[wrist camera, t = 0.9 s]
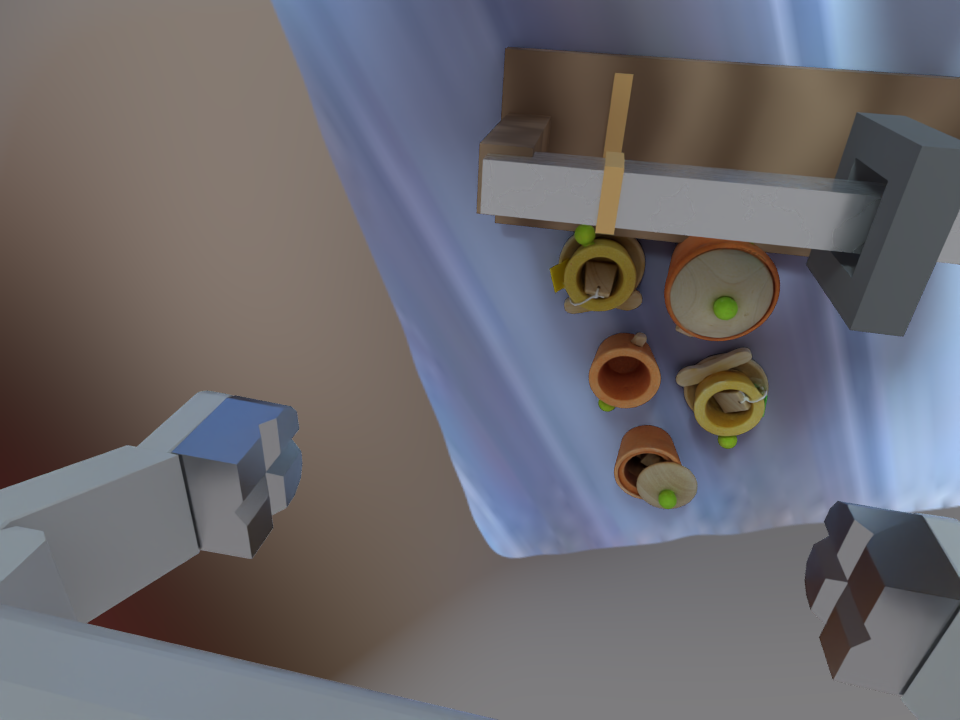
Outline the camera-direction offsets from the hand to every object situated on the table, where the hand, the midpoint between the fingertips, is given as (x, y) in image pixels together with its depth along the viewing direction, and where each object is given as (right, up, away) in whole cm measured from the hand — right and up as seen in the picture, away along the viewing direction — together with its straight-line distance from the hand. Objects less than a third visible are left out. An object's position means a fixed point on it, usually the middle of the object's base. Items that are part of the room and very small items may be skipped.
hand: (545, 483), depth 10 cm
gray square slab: (+21, +12, +27) cm, 36 cm away
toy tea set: (+15, +3, +43) cm, 46 cm away
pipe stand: (+15, +16, +35) cm, 41 cm away
